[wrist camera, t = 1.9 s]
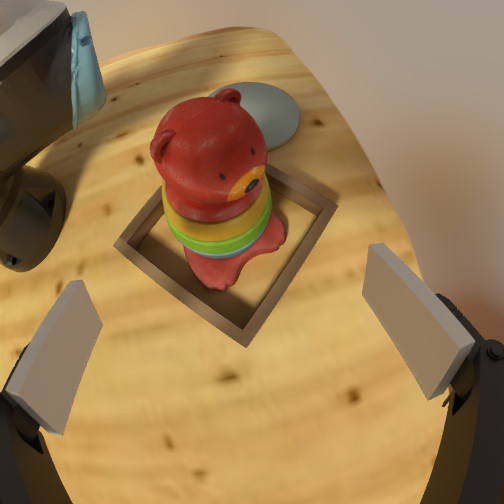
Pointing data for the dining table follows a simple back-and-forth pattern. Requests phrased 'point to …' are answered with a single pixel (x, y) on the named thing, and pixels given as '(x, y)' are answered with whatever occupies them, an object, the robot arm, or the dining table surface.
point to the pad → (269, 111)
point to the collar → (324, 213)
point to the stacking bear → (216, 186)
